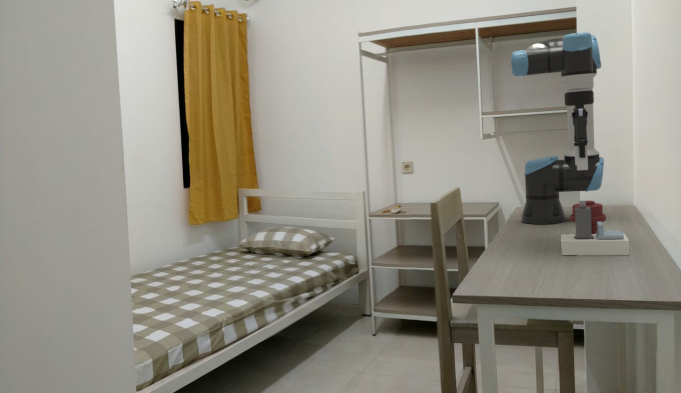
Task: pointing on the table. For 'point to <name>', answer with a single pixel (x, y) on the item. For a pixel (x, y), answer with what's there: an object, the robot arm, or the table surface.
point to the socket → (594, 245)
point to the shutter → (607, 233)
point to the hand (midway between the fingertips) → (581, 167)
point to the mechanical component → (592, 214)
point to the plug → (583, 221)
